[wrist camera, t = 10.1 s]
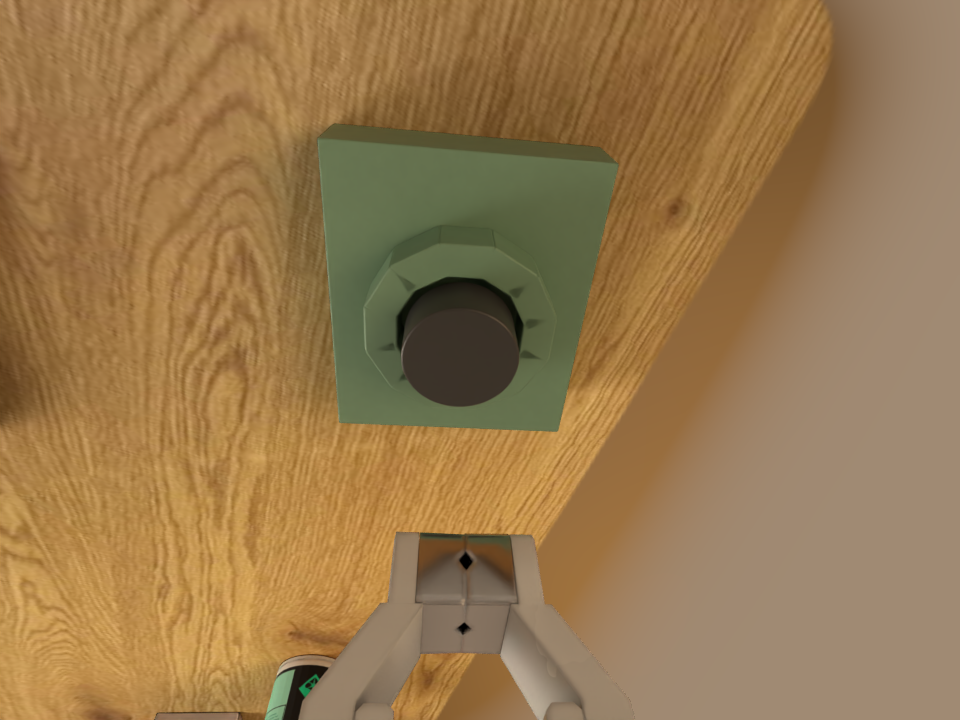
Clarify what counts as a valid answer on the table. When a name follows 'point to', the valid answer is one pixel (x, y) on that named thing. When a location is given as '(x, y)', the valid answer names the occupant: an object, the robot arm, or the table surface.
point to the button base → (458, 260)
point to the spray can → (295, 685)
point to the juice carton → (198, 716)
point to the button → (459, 345)
